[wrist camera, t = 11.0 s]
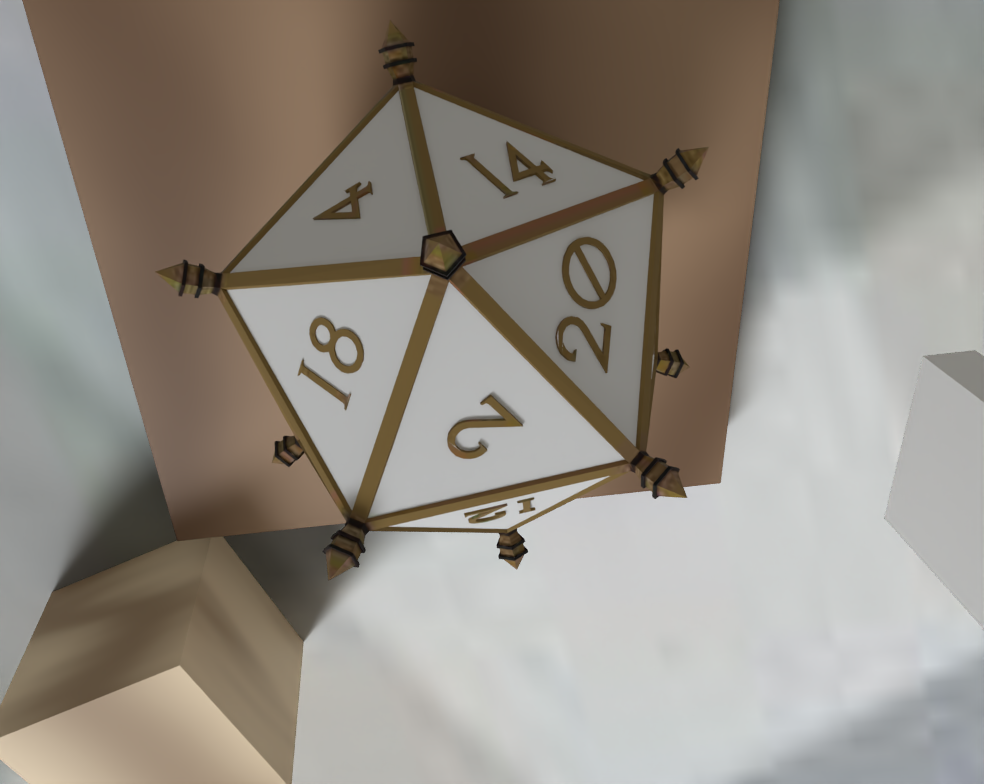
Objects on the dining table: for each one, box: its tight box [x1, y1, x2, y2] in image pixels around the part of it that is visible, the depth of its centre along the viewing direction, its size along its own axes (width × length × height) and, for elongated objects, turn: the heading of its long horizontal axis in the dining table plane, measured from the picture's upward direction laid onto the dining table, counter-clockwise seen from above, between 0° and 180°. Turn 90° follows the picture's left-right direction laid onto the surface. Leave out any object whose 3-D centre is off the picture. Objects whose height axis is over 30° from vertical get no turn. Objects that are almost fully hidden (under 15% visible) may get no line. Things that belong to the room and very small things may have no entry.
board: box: [22, 0, 780, 541], centre depth 19 cm, size 14×14×2 cm
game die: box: [155, 20, 709, 581], centre depth 15 cm, size 9×8×10 cm
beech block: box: [0, 536, 303, 784], centre depth 22 cm, size 5×5×5 cm
